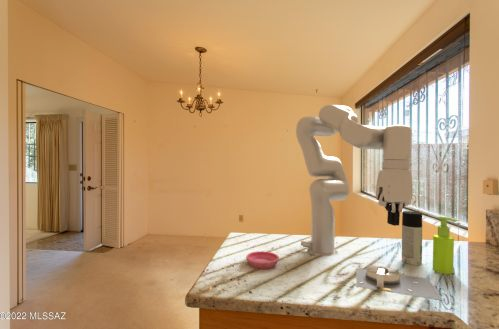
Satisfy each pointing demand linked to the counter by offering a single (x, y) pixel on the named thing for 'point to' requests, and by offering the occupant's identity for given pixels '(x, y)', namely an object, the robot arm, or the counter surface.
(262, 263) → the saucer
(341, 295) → the counter surface
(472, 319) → the counter surface
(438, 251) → the soap dispenser
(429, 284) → the board
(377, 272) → the dial
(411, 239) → the spray can
